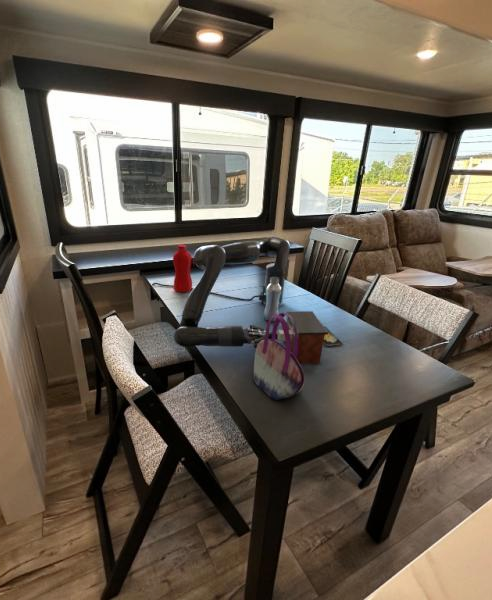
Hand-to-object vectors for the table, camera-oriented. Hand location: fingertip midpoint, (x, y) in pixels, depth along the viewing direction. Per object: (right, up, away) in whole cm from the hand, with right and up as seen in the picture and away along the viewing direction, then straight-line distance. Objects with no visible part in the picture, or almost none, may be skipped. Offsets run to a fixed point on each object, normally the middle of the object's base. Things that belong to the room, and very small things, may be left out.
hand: (276, 335), depth 114 cm
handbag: (-3, -14, -15) cm, 21 cm away
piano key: (+3, -1, +1) cm, 4 cm away
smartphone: (+22, -2, +14) cm, 27 cm away
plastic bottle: (+2, +4, +27) cm, 28 cm away
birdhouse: (+10, -6, +3) cm, 12 cm away
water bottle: (-41, +19, +58) cm, 74 cm away
